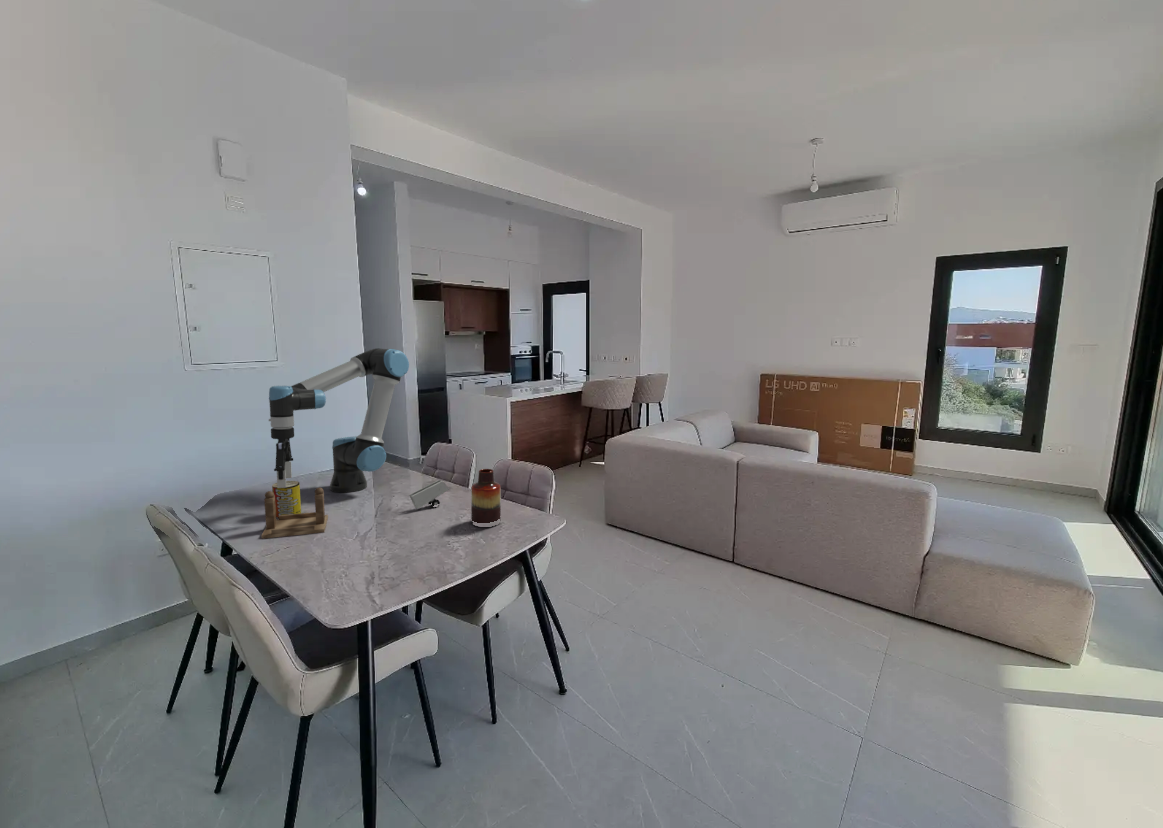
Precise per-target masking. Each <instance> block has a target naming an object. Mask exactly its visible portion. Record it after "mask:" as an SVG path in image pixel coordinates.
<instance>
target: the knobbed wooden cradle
mask: <svg viewBox="0 0 1163 828" xmlns="http://www.w3.org/2000/svg"><path fill="white" fill-rule="evenodd" d="M263 500H264V501H263V502H264V515H265V528H264V530H263V532H262V534H261V535H260V536H261V539H262V540H265V539H273V538H282V537H291V536H292V537H293V536H300V535H312V534H321V533H322V534H323V533H325V531H326V526H327V524H328V519H329V515H328V514H325V513H326V512H325V510H326V509H325V492H324V489H323V488H322V487H316V488H315V490H314V504H315V505H314V506H315V507H314V508H315V511H314V512H312V511H311V512H304V513H303V512H301V513H300V514H289V515H279V518H276V507H275V495H274V493H273V491H272V490H270V491H269V490H268V491H266V492H265V493H264V499H263Z"/></svg>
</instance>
